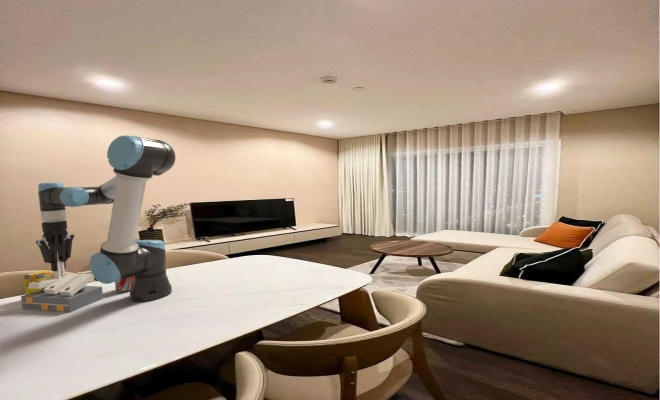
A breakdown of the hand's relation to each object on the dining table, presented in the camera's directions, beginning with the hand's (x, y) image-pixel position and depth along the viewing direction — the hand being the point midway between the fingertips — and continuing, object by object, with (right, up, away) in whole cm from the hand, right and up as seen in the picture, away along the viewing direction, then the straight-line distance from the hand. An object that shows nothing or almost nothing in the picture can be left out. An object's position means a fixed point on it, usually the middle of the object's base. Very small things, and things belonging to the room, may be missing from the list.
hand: (59, 277), depth 123 cm
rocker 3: (+13, -1, -7) cm, 15 cm away
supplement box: (-9, -9, +1) cm, 13 cm away
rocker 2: (+6, -1, -6) cm, 8 cm away
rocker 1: (-1, -1, -4) cm, 5 cm away
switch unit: (+6, -9, -5) cm, 12 cm away
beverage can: (+21, -8, +9) cm, 25 cm away
